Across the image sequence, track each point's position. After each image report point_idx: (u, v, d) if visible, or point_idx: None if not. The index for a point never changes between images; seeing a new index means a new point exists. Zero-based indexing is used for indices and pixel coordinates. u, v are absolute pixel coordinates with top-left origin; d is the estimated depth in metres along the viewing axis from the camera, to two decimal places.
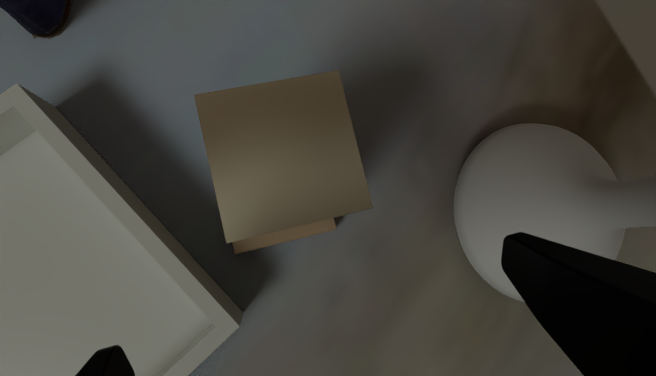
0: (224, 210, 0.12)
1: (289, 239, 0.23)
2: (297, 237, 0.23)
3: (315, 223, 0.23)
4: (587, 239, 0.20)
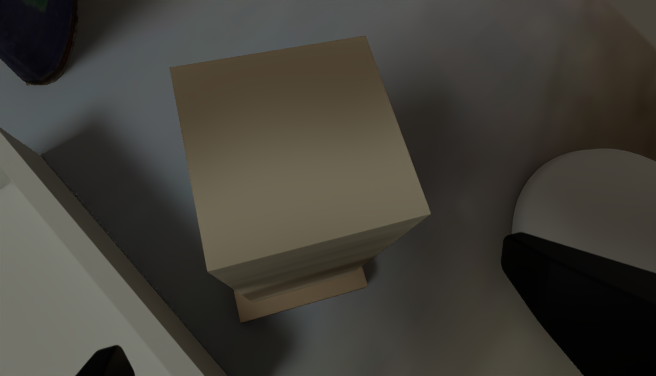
0: (206, 221, 0.08)
1: (309, 301, 0.18)
2: (319, 298, 0.18)
3: (341, 279, 0.18)
4: None
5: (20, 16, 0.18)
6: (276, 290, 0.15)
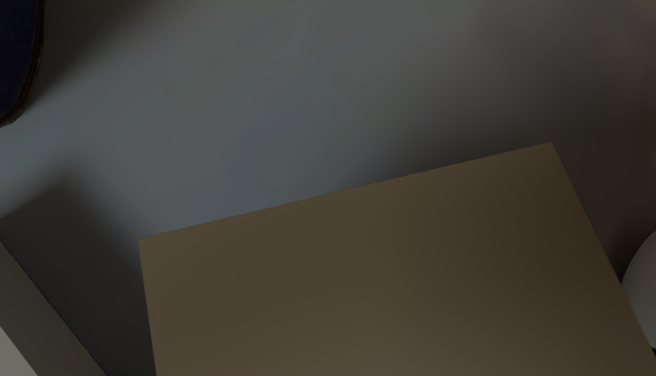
0: None
1: None
2: None
3: None
4: None
5: None
6: None
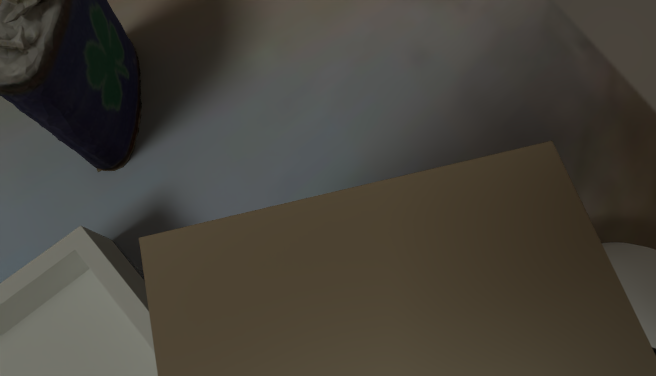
0: None
1: None
2: None
3: None
4: None
5: (102, 122, 0.20)
6: None
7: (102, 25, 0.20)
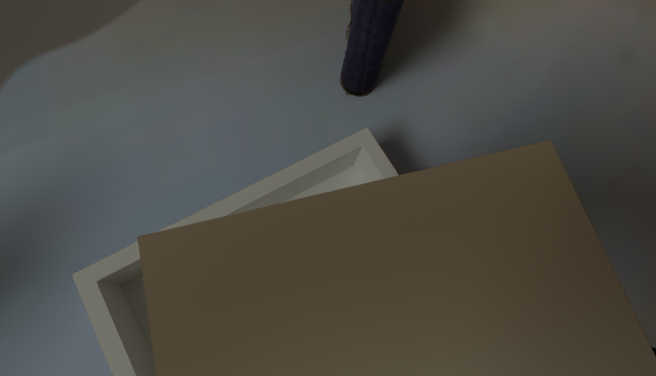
0: None
1: None
2: None
3: None
4: None
5: (386, 48, 0.23)
6: None
7: None
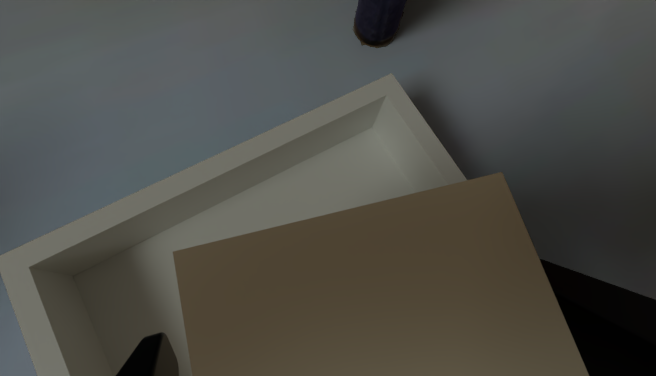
0: None
1: None
2: None
3: None
4: None
5: None
6: None
7: None
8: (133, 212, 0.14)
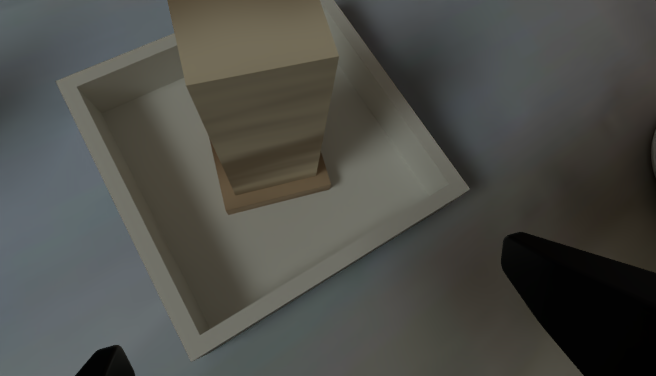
0: (185, 56, 0.12)
1: (282, 195, 0.22)
2: (290, 193, 0.22)
3: (308, 178, 0.22)
4: None
5: None
6: (251, 173, 0.19)
7: None
8: (141, 57, 0.22)
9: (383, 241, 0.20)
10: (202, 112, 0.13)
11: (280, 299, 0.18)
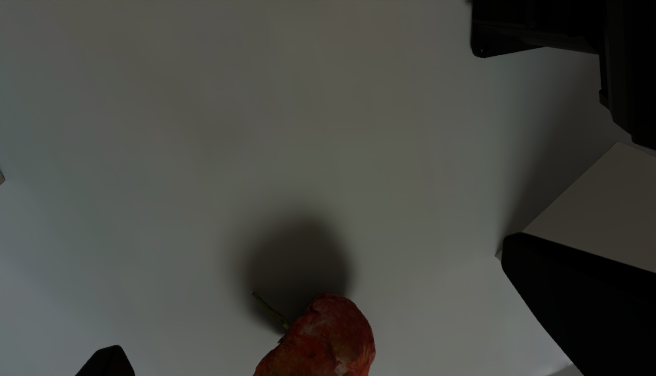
0: None
1: None
2: None
3: None
4: None
5: None
6: None
7: None
8: None
9: None
10: None
11: None
